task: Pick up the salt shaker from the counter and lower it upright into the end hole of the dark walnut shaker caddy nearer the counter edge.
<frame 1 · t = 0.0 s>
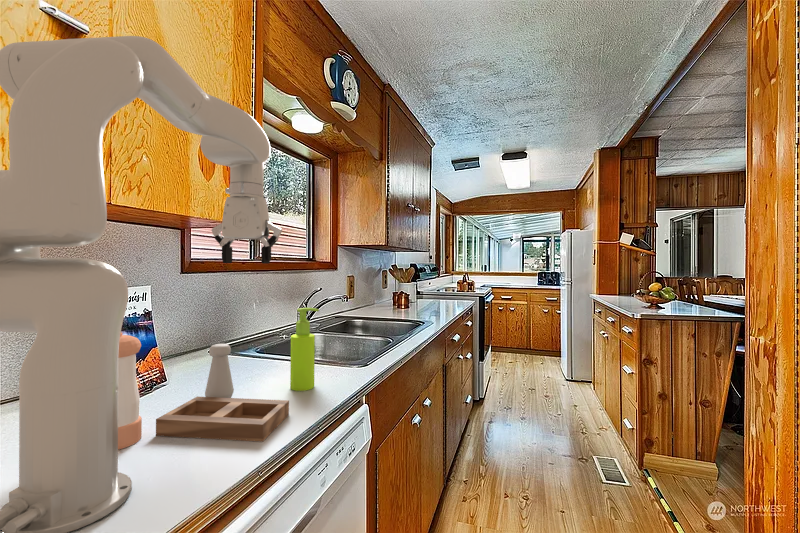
hand: (246, 263, 94), 31 cm above the countertop, tool pointing down, fingers open, 9 cm apart
soap dispenser: (304, 387, 98), on the countertop
caddy: (226, 424, 74), on the countertop
salt shaker: (219, 403, 86), on the countertop
pepper shaker: (116, 443, 67), on the countertop
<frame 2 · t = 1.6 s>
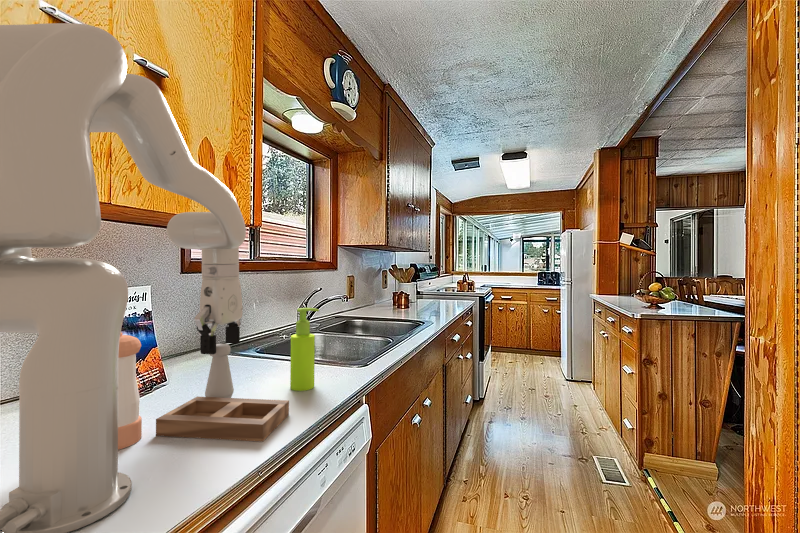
hand: (221, 348, 87), 12 cm above the countertop, tool pointing down, fingers open, 9 cm apart
nothing on the countertop moved.
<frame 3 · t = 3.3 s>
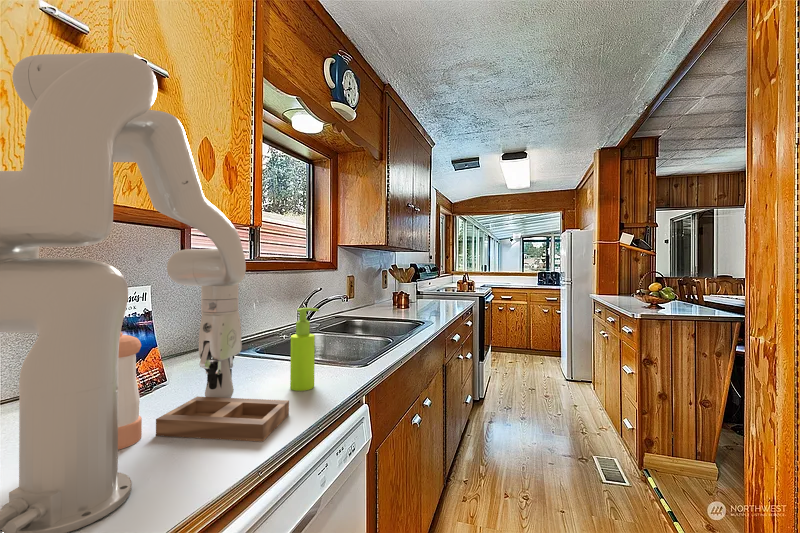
hand: (219, 388, 86), 3 cm above the countertop, tool pointing down, fingers closed on salt shaker, 3 cm apart
salt shaker: (219, 403, 86), on the countertop, touching gripper
everything else where it was.
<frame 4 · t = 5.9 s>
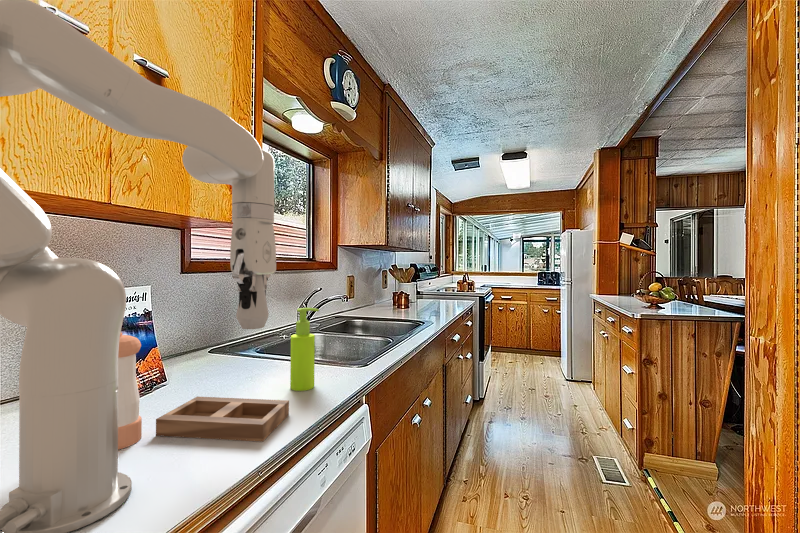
hand: (252, 310, 74), 22 cm above the countertop, tool pointing down, fingers closed on salt shaker, 3 cm apart
salt shaker: (252, 328, 74), point 19 cm above the countertop, touching gripper
everything else where it was.
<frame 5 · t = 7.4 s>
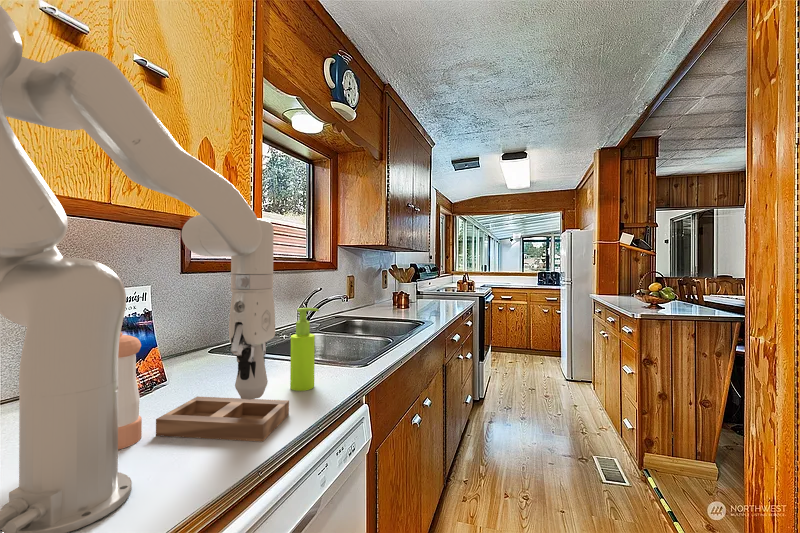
hand: (251, 378, 74), 9 cm above the countertop, tool pointing down, fingers closed on salt shaker, 3 cm apart
salt shaker: (251, 397, 74), point 6 cm above the countertop, touching gripper
everything else where it was.
when the fingers open (5 cm above the countertop, at t = 8.5 s): salt shaker drops 1 cm, resting on caddy.
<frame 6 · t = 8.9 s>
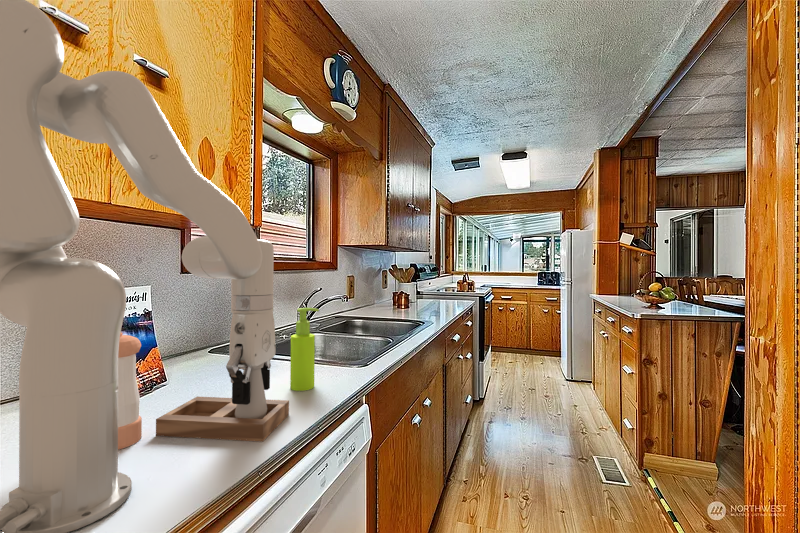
hand: (251, 395, 74), 6 cm above the countertop, tool pointing down, fingers open, 7 cm apart
salt shaker: (251, 425, 74), resting on caddy
everything else where it was.
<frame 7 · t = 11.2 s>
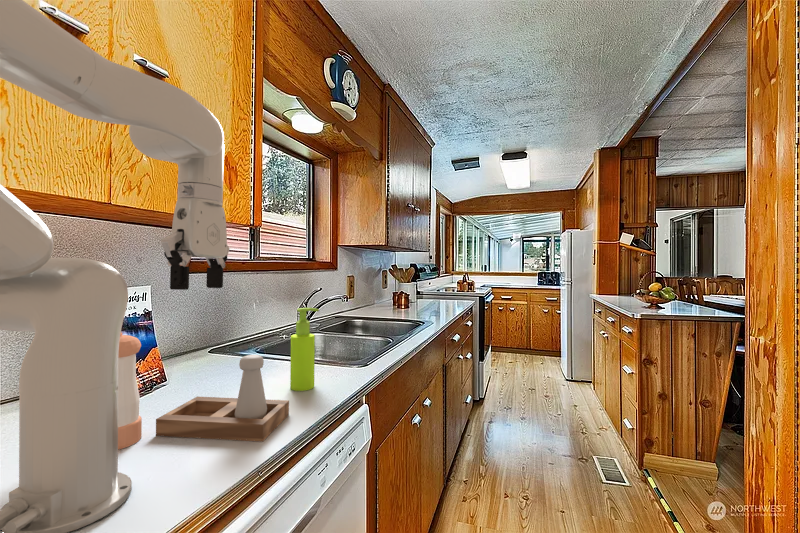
hand: (198, 288, 72), 26 cm above the countertop, tool pointing down, fingers open, 9 cm apart
nothing on the countertop moved.
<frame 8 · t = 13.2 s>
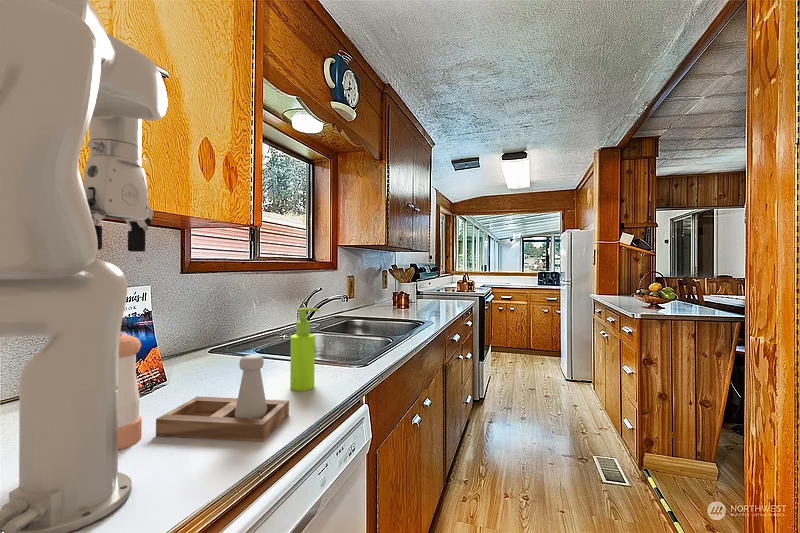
hand: (115, 250, 70), 33 cm above the countertop, tool pointing down, fingers open, 9 cm apart
nothing on the countertop moved.
at the end: salt shaker 0.3 cm from the target spot on the caddy, point 0.3 cm above the caddy's base; salt shaker tilted 0°; the gripper is holding nothing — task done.
